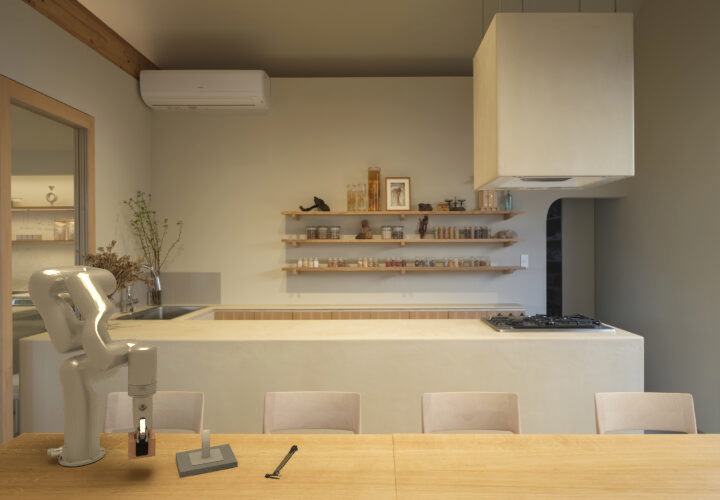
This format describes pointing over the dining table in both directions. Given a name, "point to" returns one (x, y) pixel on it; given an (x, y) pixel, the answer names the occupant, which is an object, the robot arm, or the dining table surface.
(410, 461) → the dining table surface
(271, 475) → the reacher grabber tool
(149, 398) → the robot arm
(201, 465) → the post board
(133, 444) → the collar
